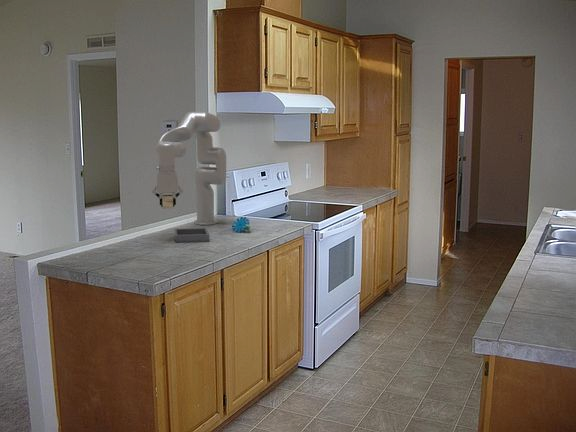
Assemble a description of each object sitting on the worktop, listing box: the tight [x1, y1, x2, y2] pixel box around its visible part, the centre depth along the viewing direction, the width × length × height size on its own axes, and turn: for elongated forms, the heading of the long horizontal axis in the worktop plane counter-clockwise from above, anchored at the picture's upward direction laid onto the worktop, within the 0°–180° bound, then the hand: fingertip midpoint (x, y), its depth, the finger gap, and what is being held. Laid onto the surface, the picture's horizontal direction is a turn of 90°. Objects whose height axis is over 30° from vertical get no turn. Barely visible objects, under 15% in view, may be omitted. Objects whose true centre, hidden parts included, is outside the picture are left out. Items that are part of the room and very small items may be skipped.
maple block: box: [162, 194, 174, 210], centre depth 300 cm, size 5×5×6 cm
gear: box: [231, 216, 251, 233], centre depth 327 cm, size 11×6×10 cm
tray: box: [174, 227, 210, 244], centre depth 307 cm, size 16×16×4 cm
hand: (167, 206), depth 301 cm, fingers closed on maple block, 5 cm apart
